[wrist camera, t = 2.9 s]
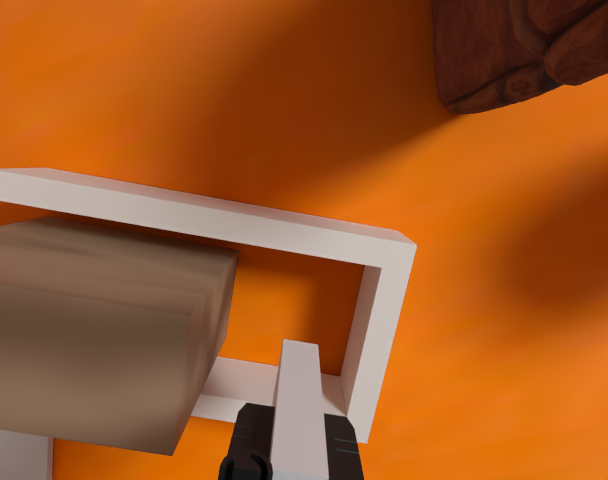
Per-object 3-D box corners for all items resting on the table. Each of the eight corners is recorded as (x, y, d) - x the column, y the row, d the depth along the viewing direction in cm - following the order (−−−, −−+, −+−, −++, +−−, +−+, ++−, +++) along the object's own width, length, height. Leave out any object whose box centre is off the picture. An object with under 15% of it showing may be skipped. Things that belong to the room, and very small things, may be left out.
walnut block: (226, 336, 24) (172, 455, 14) (44, 305, 24) (-142, 407, 14) (239, 249, 23) (189, 316, 13) (47, 216, 22) (-155, 258, 12)
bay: (357, 399, 25) (366, 443, 21) (41, 347, 24) (-10, 384, 20) (397, 230, 22) (417, 245, 18) (47, 167, 22) (-11, 168, 18)
